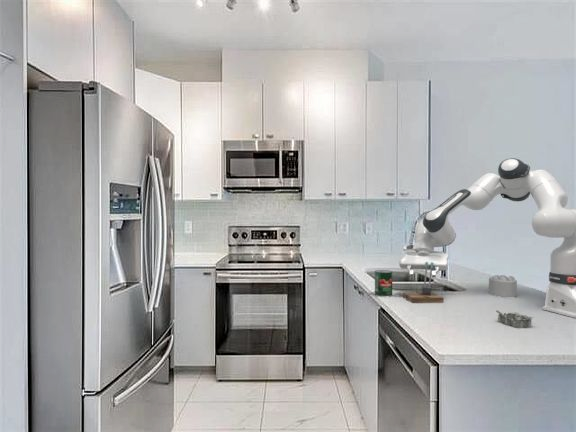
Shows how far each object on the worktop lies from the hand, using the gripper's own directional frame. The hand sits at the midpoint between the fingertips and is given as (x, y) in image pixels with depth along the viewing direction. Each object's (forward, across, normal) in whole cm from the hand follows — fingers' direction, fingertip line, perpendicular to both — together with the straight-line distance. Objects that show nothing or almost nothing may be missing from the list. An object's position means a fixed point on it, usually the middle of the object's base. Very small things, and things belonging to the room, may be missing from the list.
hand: (422, 275), depth 191 cm
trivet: (+7, 0, -8) cm, 10 cm away
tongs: (+4, -1, -7) cm, 9 cm away
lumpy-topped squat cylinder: (-10, -34, -25) cm, 44 cm away
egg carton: (+30, -31, +15) cm, 46 cm away
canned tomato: (+3, +17, -12) cm, 21 cm away
